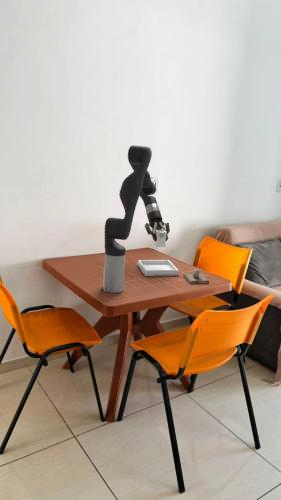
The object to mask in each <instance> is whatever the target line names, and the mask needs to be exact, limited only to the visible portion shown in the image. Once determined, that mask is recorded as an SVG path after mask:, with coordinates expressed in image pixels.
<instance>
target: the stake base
mask: <svg viewBox="0 0 281 500" xmlns="http://www.w3.org/2000/svg"><path fill="white" fill-rule="evenodd" d="M182 277H183V278H184V279H185V281H187V282H188V283H189V284H196V285H197V284H209V283H210V280H209V279H208V278H207V277H206V276H205V275H204V274H202V273H200V268H199V269H198V268H194V269H193V273H183V275H182Z"/></svg>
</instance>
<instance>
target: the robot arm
mask: <svg viewBox="0 0 281 500" xmlns="http://www.w3.org/2000/svg"><path fill="white" fill-rule="evenodd" d="M152 154H153V151H152V148H151V147H150V146H147V145H135V144H134V145H130V146H129V148H128V151H127V160H128V163H129V165H130V167H131V168H132V170H133V171H132V172H131V173H130V174H129V175H127V176H126V177H125V178H124V180H122V184H121V186H120V189H119V195H118V196H119V199H120V201H121V204H122V206H123V209H124V216H123V218H120V217H119V218H118V217H108V218H107V219H105V223H104V265H103V266H104V267H103V270H102V271H103V273H102V289H103V291H104V293H112V294H116V293H117V294H118V293H121V292H123V291H124V290H125V272H126V271H125V270H126V269H125V267H126V253H127V251H126V247H125V246H123V245H122V244H120V243H118V242H117V240H119V241H121V240H122V241H125V240H128V239H129V237H130V233H131V230H132V225H133V221H134V215H135V212H136V211H135V210H136V208H137V204H138V201H139V198H140V199H141V200H142V202H143V205H144V207H145V214H146V217H147V221H148V222H145V224H144V229H145V230H146V233H147V235H151V237H152V239H153V242H154V241H157V237H156V234H155V230H165V231H166V242H167V241H168V240H169V233H170V232H171V230H170V222H164V221H163V215H162V213H161V210H160V207H159V205H158V202H157V198H156V197H155V194H156V193H157V187H156V184H155V183H154V181H152V179H151V178H152V177H151V174H150V172H149V170H148V169H149V166H150V162H151V160H152Z"/></svg>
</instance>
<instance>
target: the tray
mask: <svg viewBox="0 0 281 500" xmlns="http://www.w3.org/2000/svg"><path fill="white" fill-rule="evenodd" d="M137 267H138V269H139V270H140V271H141V272H142V274H143V275H144V277H169V276H170V277H174V276H179V275H180V274H179V273H180V270H179V268H177V267H176V265H174V264H173V263H172V261H171V260H169V259H138V260H137Z"/></svg>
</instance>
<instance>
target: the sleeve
mask: <svg viewBox="0 0 281 500" xmlns="http://www.w3.org/2000/svg"><path fill="white" fill-rule="evenodd" d="M165 230H166V229H165ZM165 230H155V234H156V237H157V241H154V240H153V246H155V248H157V247H159V248H166V242H167V241H166V231H165Z"/></svg>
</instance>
